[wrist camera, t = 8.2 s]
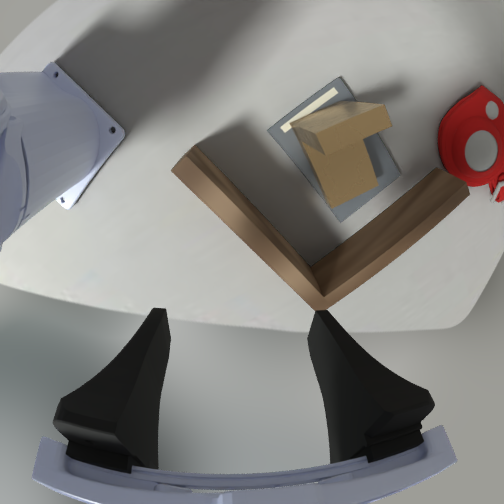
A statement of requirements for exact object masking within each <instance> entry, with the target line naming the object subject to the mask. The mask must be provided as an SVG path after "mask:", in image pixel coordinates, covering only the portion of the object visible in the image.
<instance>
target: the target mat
mask: <svg viewBox="0 0 504 504" xmlns="http://www.w3.org/2000/svg"><path fill="white" fill-rule="evenodd" d="M339 101H352V102H357V101H356V100H355V98H354V97H353V95H352V94H351V92H350V91H349V90H348V88H347V87H346V86H345V84H344V83H343V81H342V80H341V79H340V78H339V77H338V78H336V79H335V80H333V81H332V82H331V83H329V84H328V85H326V86H325V87H323V88H322V89H321V90H319V91H318V92H316V93H315V94H314V95H312V96H311V97H310V98H308V99H307V100H305V101H304V102H303V103H301V104H300V105H299V106H297V107H296V108H295V109H294V110H292V111H291V112H290V113H288V114H287V115H286V116H284V117H283V118H282V119H281V120H279V121H278V122H277V123H275V124H274V125H273V126H272V127H270V128H269V129H268V130H267V131H268V132H269V133H270V135H271V136H272V137H273V138H274V139H275V140H276V142H277V143H278V144H279V145H280V146H281V147H282V149H283V150H284V151H285V152H286V153H287V155H288V156H289V157H290V158H291V159H292V161H293V162H294V163H295V164H296V165H297V167H298V168H299V169H300V170H301V172H302V173H303V174H304V175H305V177H306V178H307V179H308V180H309V182H310V183H311V184H312V186H313V187H314V188H315V189H316V191H317V192H318V193H319V195H320V196H321V197H322V199H323V200H324V201H325V198H324V196H323V194H322V191H321V189H320V187H319V184H318V182H317V180H316V178H315V176H314V173H313V171H312V169H311V167H310V165H309V162H308V160H307V158H306V156H305V154H304V152H303V150H302V148H301V146H300V144H299V142H298V140H297V138H296V136H295V134H294V132H293V130H292V128H291V126H290V124H289V123H291V122H293V121H295V120H297V119H299V118H302V117H304V116H306V115H308V114H310V113H313V112H315V111H317V110H320V109H322V108H324V107H327V106H329V105H331V104H334V103H336V102H339ZM363 141H364V144H365V146H366V149H367V152H368V155H369V158H370V161H371V163H372V166H373V169H374V172H375V175H376V179H377V182H378V185H379V186H377V187H375V188H373V189H371V190H369V191H367V192H365V193H363V194H361V195H359V196H357V197H355V198H353V199H351V200H349V201H347V202H345V203H343V204H341V205H339V206H337V207H335V208H333V209H331V208H330V206H329V205H328V204H327V203H326V201H325V203H326V204H327V205H328V207H329V208H330V209H331V211H332V212H333V213H334V215H335V216H336V217H337V219H338V220H339V222H340V223H341V222H342V221H344V220H345V219H346V218H348V217H349V216H350V215H351V214H353V213H354V212H355V211H356V210H358V209H359V208H360V207H362V206H363V205H364V204H365V203H367V202H368V201H369V200H370V199H372V198H373V197H374V196H376V195H377V194H378V193H379V192H381V191H382V190H383V189H384V188H386V187H387V186H388V185H389V184H391V183H392V182H393V181H394V180H395V179H397V178H398V177H399V176H400V173H399V171H398V169H397V167H396V165H395V163H394V161H393V160H392V158H391V156H390V154H389V152H388V151H387V149H386V147H385V145H384V144H383V142H382V140H381V139H380V137H379V135H378V134H377V133H375V134H373V135H371V136H368V137H366V138H364V139H363Z"/></svg>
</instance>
